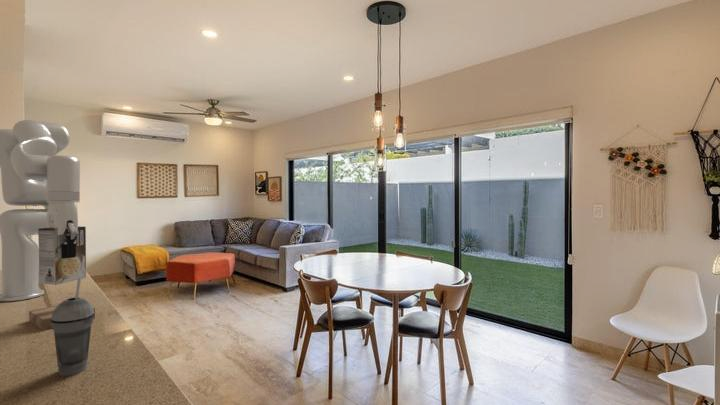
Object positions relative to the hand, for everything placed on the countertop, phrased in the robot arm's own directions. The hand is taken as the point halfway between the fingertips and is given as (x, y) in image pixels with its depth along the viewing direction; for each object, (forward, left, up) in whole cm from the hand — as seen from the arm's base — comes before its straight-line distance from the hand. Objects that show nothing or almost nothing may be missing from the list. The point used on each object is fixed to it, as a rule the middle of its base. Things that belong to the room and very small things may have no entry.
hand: (63, 256), depth 104 cm
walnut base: (0, 0, -19) cm, 19 cm away
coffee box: (0, 0, -8) cm, 8 cm away
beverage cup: (+39, -10, -19) cm, 45 cm away
